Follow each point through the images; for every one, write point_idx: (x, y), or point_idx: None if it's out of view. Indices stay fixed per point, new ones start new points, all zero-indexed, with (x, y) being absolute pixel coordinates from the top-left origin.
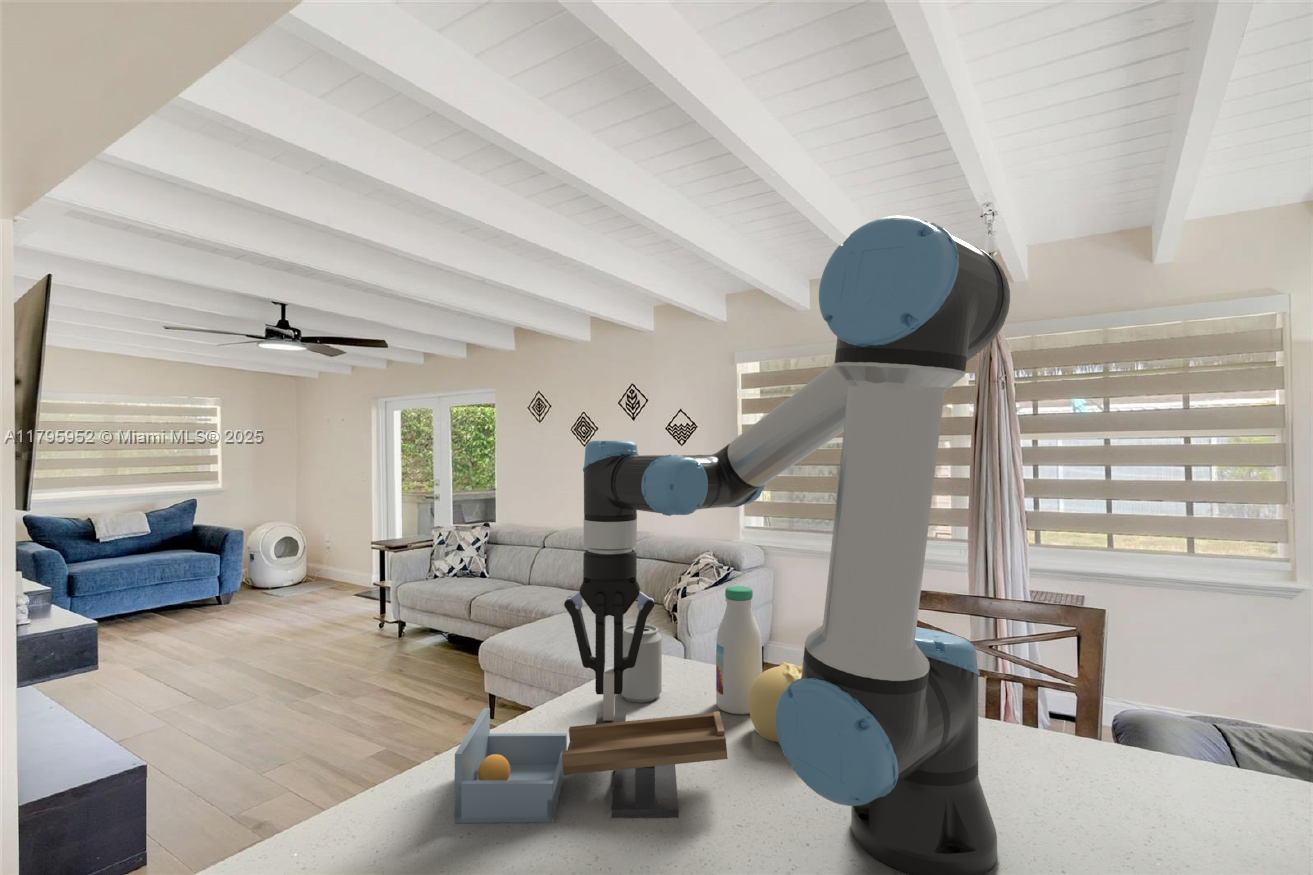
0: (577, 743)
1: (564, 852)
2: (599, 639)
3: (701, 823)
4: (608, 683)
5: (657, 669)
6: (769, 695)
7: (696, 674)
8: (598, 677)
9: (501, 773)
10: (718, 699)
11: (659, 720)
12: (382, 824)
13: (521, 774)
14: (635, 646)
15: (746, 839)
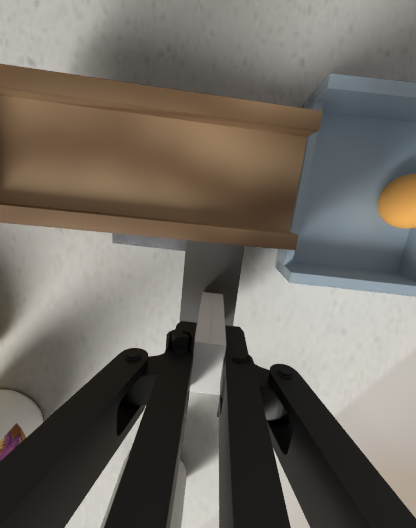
0: (276, 217)
1: (291, 13)
2: (253, 449)
3: (86, 74)
4: (211, 328)
5: (112, 502)
6: None
7: (69, 520)
8: (239, 349)
9: (403, 179)
10: (32, 422)
11: (102, 217)
12: None
13: (347, 237)
14: (88, 401)
15: (24, 19)
